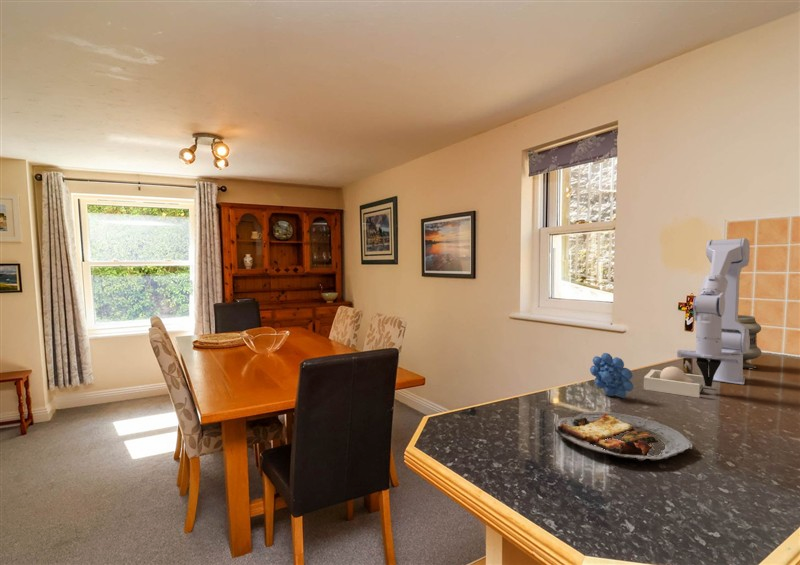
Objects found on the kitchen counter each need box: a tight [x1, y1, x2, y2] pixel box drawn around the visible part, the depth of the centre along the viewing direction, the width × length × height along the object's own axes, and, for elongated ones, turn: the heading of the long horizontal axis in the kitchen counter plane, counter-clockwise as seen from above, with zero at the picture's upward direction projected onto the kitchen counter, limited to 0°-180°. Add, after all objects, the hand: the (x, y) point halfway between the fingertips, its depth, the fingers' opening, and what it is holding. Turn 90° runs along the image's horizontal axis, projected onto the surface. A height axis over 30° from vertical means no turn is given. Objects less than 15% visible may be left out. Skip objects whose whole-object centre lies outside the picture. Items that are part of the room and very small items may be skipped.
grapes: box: [589, 352, 634, 399], centre depth 114 cm, size 12×7×12 cm, turn 39°
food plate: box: [553, 411, 694, 462], centre depth 85 cm, size 25×23×4 cm
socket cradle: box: [643, 368, 705, 399], centre depth 121 cm, size 12×13×4 cm
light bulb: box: [660, 365, 704, 393], centre depth 120 cm, size 7×7×11 cm
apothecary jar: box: [722, 314, 762, 368], centre depth 146 cm, size 12×12×18 cm
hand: (708, 385), depth 115 cm, fingers closed
